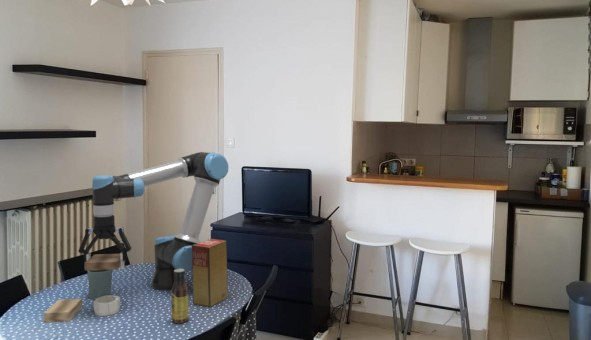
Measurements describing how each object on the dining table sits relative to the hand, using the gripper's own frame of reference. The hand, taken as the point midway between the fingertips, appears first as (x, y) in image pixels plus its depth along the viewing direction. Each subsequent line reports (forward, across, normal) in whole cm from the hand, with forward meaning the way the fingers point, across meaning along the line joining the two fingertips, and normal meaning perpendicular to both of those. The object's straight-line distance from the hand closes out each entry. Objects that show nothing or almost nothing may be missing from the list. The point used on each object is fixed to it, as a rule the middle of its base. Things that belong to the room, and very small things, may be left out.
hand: (105, 269), depth 180 cm
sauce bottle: (+17, -30, +12) cm, 37 cm away
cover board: (-2, 0, 0) cm, 2 cm away
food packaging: (+18, -40, -8) cm, 44 cm away
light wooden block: (+17, +16, +1) cm, 24 cm away
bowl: (+17, 0, 0) cm, 17 cm away
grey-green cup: (+17, +8, -19) cm, 27 cm away
